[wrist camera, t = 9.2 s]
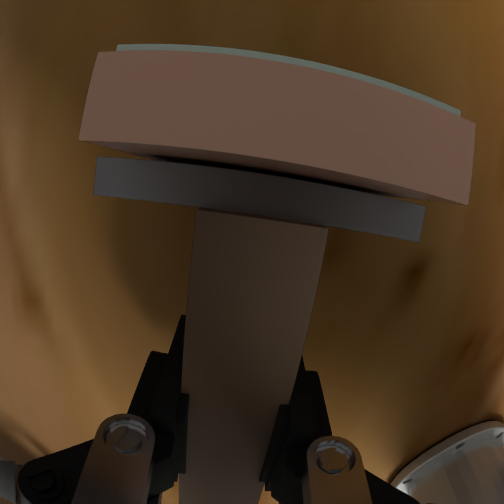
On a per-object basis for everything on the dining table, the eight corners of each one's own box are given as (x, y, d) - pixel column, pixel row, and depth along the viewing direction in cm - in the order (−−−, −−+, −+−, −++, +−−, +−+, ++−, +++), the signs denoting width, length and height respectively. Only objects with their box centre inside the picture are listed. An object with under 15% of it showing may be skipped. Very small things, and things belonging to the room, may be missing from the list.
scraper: (363, 195, 10) (438, 208, 6) (292, 460, 13) (306, 536, 8) (149, 163, 10) (86, 155, 5) (142, 443, 12) (118, 517, 8)
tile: (342, 151, 12) (476, 112, 4) (336, 191, 12) (467, 205, 4) (187, 126, 12) (101, 40, 4) (180, 167, 12) (78, 140, 4)
